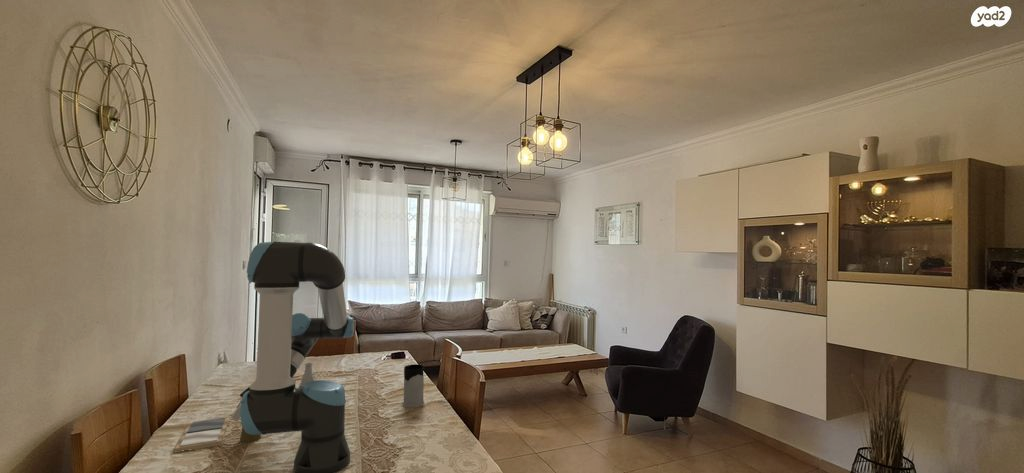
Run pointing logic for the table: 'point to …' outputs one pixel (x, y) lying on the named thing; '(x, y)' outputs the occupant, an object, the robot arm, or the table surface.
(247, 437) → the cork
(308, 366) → the flask
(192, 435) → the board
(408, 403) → the glass holder
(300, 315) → the robot arm
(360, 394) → the table surface
